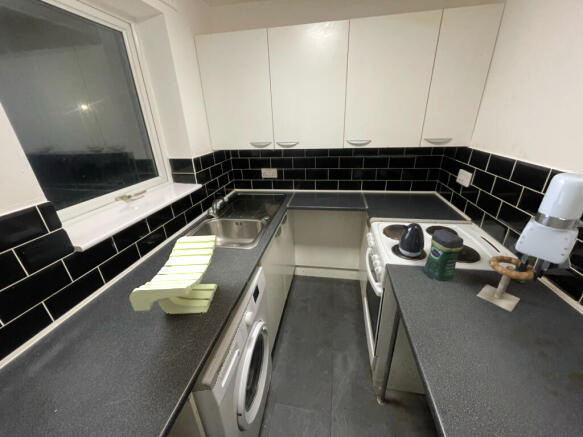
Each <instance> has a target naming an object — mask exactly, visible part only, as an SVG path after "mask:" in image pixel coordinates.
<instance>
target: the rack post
mask: <svg viewBox="0 0 583 437" xmlns="http://www.w3.org/2000/svg"><path fill="white" fill-rule="evenodd" d="M505 268H507V269H509V270H512V271H515V266H512V265H506V267H505ZM511 279H512V278H510V277H507V276H505V275H502V276H501V279H500V281H499V283H498V286H497V288H496V287H494V286H491V285H490V284H485V285H484V287H483V288H482V289H481V290H480V291H479V292H478V294H476V297H479V298H480V299H483V300H485V301H487V302H489V303H491V304H494V305H495V306H498V307H500V308H501V309H504V310H506V311H508V312H510V313H512V311H514V308H515V307H516V306H517V304H518V303H519V301H520V300H521V298H519V297H518V296H516V295H515V296H514V295H512V294H510V293H507V292H506V291H507V288H508V286H509V285H510V282H511Z"/></svg>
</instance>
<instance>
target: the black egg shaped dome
mask: <svg viewBox="0 0 583 437" xmlns="http://www.w3.org/2000/svg"><path fill="white" fill-rule="evenodd" d="M401 228H403V229H404V230H403V231H402V233H401V235H400V238H399V240H398V244H397V245H398V249H399V251H400V252H401V253H402V254H403V255H404V256H406V257H409V258H410V257H411V258H414V257H418V256H420V255H421V253H422V252H423V251H424V249H425V234H424V230H423V228H422V226H421V225H420V224H419V223H417V222H411V223H409V224H408V225H405V224H401Z"/></svg>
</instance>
